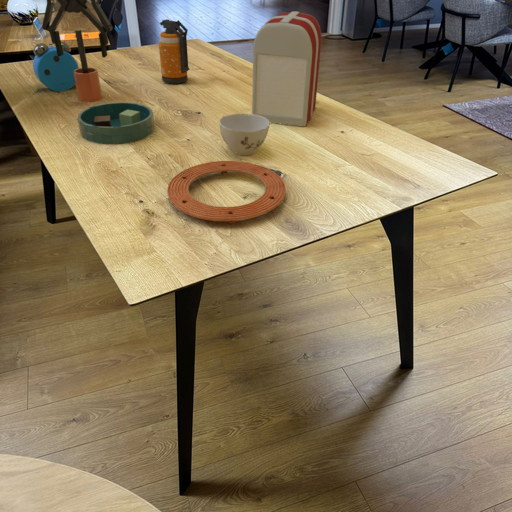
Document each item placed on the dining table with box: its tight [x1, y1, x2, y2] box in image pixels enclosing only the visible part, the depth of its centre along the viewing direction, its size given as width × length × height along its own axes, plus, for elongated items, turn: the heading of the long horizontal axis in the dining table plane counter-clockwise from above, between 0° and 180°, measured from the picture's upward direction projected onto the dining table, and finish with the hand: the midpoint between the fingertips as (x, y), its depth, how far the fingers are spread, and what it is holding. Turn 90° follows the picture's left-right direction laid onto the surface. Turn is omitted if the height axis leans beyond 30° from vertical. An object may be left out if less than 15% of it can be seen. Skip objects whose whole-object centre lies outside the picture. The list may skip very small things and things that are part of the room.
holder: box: [73, 67, 103, 103], centre depth 150 cm, size 7×7×9 cm
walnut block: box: [94, 116, 112, 127], centre depth 128 cm, size 4×4×4 cm
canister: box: [158, 19, 190, 85], centre depth 164 cm, size 9×11×20 cm
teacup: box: [218, 112, 271, 156], centre depth 121 cm, size 15×12×8 cm
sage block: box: [119, 110, 141, 126], centre depth 132 cm, size 4×4×4 cm
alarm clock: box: [32, 40, 80, 92], centre depth 156 cm, size 13×6×15 cm, turn 125°
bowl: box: [76, 101, 155, 145], centre depth 130 cm, size 20×20×5 cm
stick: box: [74, 29, 89, 73], centre depth 147 cm, size 2×2×20 cm
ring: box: [166, 160, 287, 224], centre depth 103 cm, size 25×25×2 cm
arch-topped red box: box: [251, 10, 322, 127], centre depth 137 cm, size 16×18×27 cm
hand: (82, 55), depth 145 cm, fingers open, 13 cm apart
